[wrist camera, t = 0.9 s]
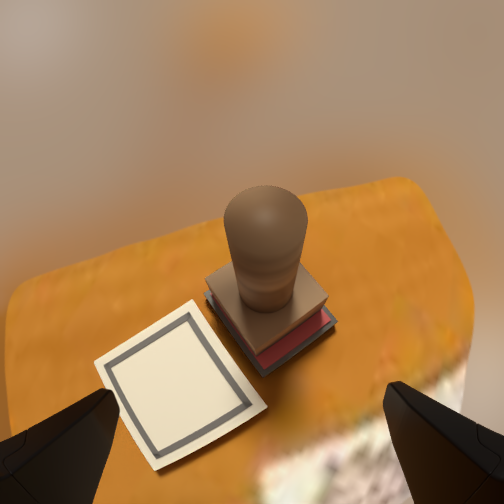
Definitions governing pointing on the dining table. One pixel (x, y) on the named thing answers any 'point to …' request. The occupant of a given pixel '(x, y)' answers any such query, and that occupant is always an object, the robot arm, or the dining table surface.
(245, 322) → the stamp
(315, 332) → the ink pad
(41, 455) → the robot arm
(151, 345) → the marked board
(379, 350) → the dining table surface
